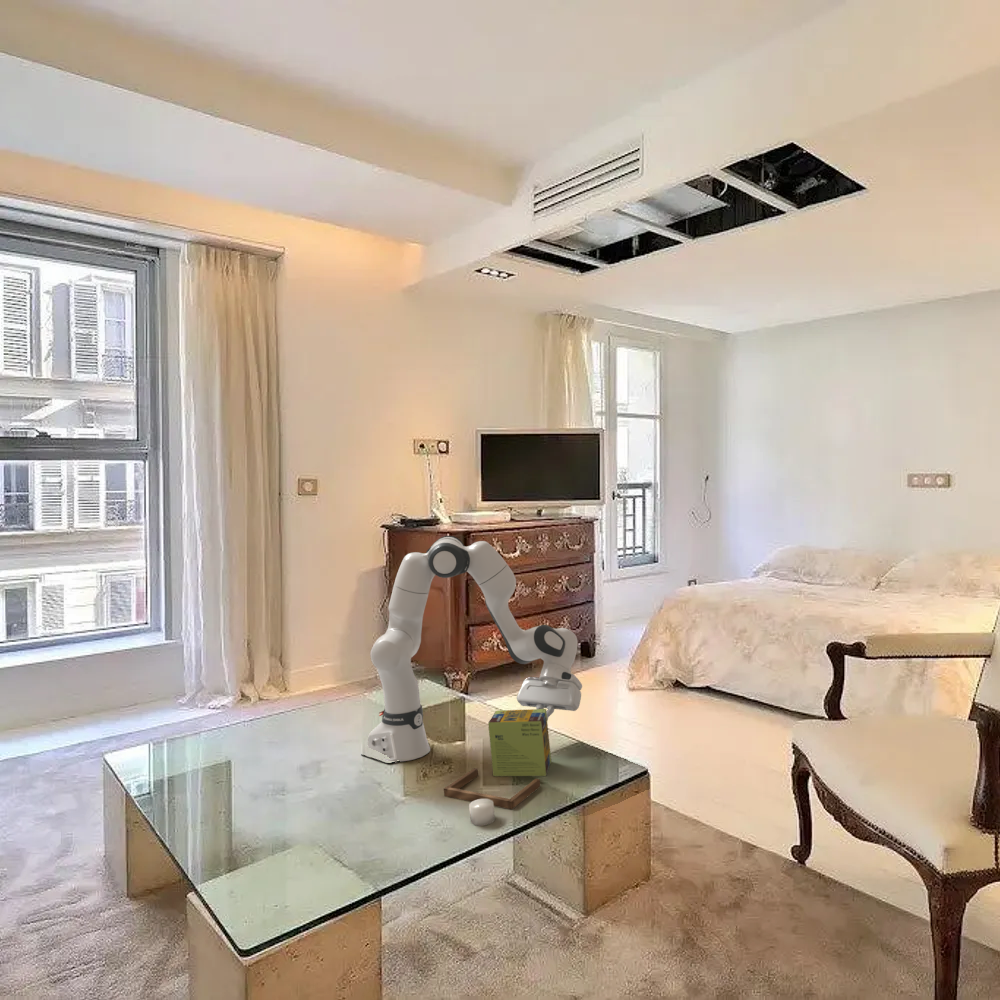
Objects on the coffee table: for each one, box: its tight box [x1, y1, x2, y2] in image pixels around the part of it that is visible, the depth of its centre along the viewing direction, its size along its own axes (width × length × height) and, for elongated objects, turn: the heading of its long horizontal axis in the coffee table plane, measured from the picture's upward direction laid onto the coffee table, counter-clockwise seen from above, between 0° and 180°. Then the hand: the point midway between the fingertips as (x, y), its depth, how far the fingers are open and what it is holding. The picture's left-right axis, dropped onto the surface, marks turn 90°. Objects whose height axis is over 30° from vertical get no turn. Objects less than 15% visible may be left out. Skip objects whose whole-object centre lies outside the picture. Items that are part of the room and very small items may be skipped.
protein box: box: [487, 708, 552, 777], centre depth 209 cm, size 10×15×16 cm
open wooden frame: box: [443, 767, 541, 810], centre depth 196 cm, size 21×14×2 cm, turn 57°
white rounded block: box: [468, 799, 496, 827], centre depth 180 cm, size 6×6×4 cm
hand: (541, 720), depth 219 cm, fingers closed
